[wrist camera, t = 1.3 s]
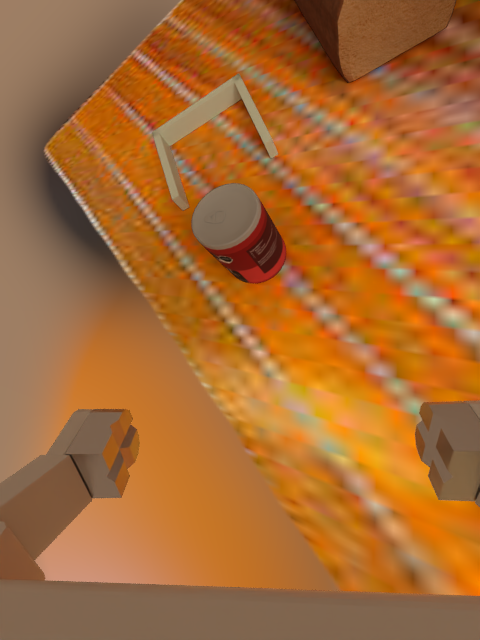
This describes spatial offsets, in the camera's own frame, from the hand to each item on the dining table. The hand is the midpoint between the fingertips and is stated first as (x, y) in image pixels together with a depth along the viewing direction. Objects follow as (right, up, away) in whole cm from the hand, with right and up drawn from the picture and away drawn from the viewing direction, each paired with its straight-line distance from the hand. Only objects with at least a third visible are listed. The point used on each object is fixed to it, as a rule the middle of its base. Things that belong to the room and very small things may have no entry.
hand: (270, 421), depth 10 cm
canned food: (+2, +11, +37) cm, 39 cm away
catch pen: (-5, +29, +45) cm, 54 cm away
